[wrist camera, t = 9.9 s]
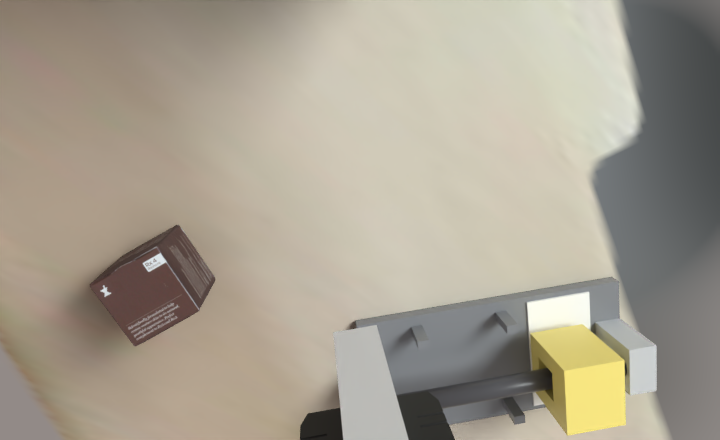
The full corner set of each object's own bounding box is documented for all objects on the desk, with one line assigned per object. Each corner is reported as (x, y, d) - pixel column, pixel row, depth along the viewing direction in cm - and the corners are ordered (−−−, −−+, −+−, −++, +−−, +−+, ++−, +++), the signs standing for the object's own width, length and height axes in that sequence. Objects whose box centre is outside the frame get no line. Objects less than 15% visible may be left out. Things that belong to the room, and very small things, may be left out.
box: (159, 310, 48) (132, 349, 41) (120, 255, 46) (85, 285, 39) (218, 278, 48) (201, 311, 41) (180, 222, 46) (156, 246, 39)
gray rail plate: (355, 320, 50) (362, 355, 43) (611, 276, 51) (656, 304, 44) (372, 430, 53) (381, 479, 46) (614, 386, 54) (656, 427, 47)
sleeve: (530, 333, 49) (564, 370, 42) (582, 323, 49) (624, 360, 43) (534, 390, 50) (567, 435, 44) (584, 381, 51) (625, 424, 44)
